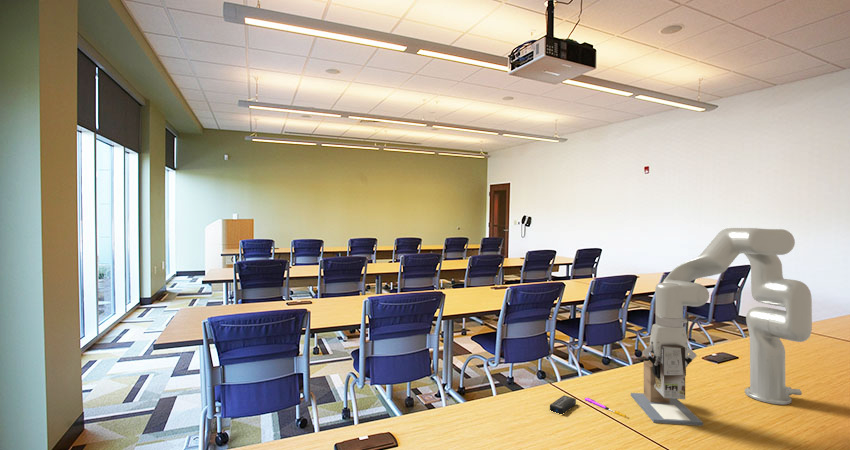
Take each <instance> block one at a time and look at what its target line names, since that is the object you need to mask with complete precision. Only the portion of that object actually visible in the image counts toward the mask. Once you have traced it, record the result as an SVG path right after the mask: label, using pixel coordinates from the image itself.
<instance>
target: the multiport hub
mask: <svg viewBox="0 0 850 450" xmlns="http://www.w3.org/2000/svg"><path fill="white" fill-rule="evenodd" d="M575 404H576V405H577V399H576V398H574V397H572V396H568V395H565V394H564V395H562V396H561V397H559V398H558V399H556V400H555V401H553V402H552V403H551V404H549V411H550V410H551V411H553V412H556V413H559V414H563V413H565V412H566V411H567V410H568V411H569V409H570V408H571V409H573V408H574V407H575V406H576V405H575ZM574 405H575V406H574ZM573 406H574V407H573ZM571 409H570V410H571ZM568 411H567V412H568ZM553 412H552V413H553ZM567 412H566V413H567ZM556 413H555V414H556ZM566 413H565V414H566ZM559 414H558V415H559ZM563 415H564V414H563Z"/></svg>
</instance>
